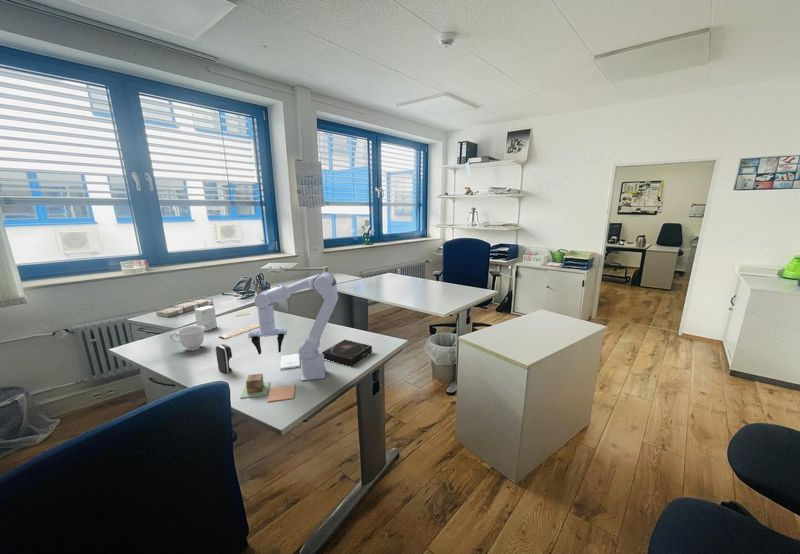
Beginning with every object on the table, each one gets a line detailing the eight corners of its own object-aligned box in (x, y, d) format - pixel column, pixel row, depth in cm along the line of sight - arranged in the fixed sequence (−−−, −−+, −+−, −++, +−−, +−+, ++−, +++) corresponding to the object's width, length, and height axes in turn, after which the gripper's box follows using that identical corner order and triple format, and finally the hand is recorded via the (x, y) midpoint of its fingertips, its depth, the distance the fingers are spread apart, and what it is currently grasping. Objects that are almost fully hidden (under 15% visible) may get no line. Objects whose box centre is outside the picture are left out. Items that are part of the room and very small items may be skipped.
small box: (210, 325, 194) (208, 305, 191) (217, 327, 191) (214, 306, 188) (197, 330, 187) (194, 308, 184) (203, 332, 184) (200, 310, 181)
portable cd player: (344, 346, 163) (343, 339, 162) (372, 353, 155) (371, 345, 154) (321, 359, 149) (321, 351, 148) (351, 368, 141) (350, 359, 140)
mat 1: (270, 382, 129) (270, 381, 128) (266, 395, 120) (266, 394, 120) (245, 385, 126) (245, 384, 126) (240, 398, 118) (240, 397, 118)
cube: (263, 385, 126) (262, 373, 125) (261, 391, 121) (260, 379, 120) (249, 386, 125) (248, 375, 124) (247, 393, 120) (245, 381, 119)
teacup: (174, 347, 163) (171, 328, 161) (208, 341, 170) (205, 323, 168) (170, 356, 153) (167, 336, 151) (206, 350, 159) (204, 331, 157)
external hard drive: (299, 356, 153) (300, 368, 141) (281, 359, 151) (280, 371, 139) (299, 353, 153) (299, 364, 141) (281, 355, 150) (280, 367, 139)
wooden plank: (225, 340, 173) (224, 337, 172) (217, 338, 176) (217, 335, 176) (262, 327, 193) (262, 324, 192) (255, 325, 196) (254, 322, 196)
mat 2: (295, 385, 126) (295, 385, 126) (293, 398, 118) (293, 397, 117) (270, 389, 124) (270, 388, 124) (267, 402, 115) (267, 401, 115)
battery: (235, 370, 139) (232, 345, 136) (226, 374, 136) (223, 349, 133) (226, 366, 143) (223, 342, 140) (218, 369, 140) (214, 345, 137)
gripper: (245, 326, 124) (248, 358, 127) (284, 322, 127) (287, 354, 130) (249, 320, 131) (252, 351, 133) (286, 317, 134) (289, 347, 137)
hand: (269, 352), depth 132 cm, fingers open, 7 cm apart
